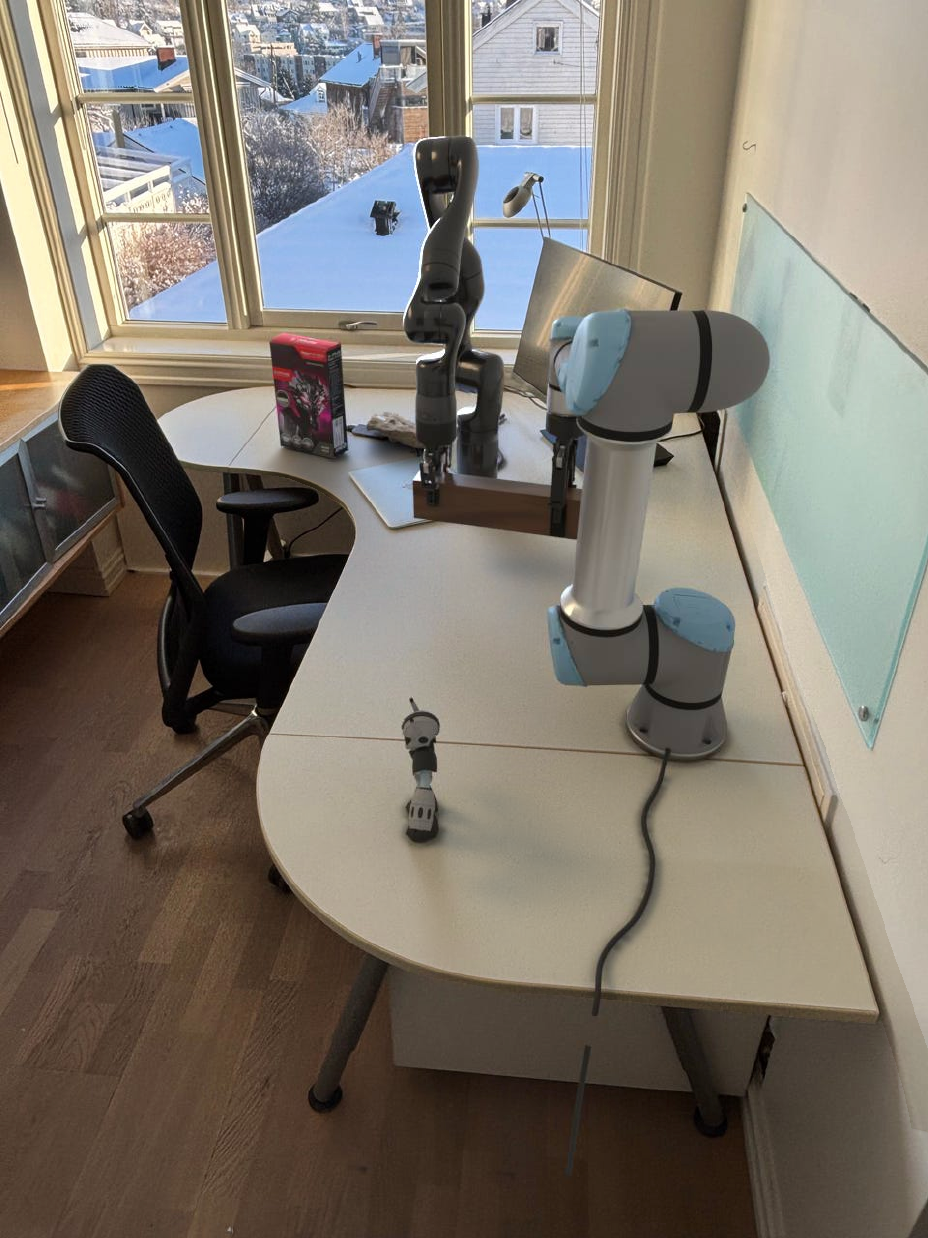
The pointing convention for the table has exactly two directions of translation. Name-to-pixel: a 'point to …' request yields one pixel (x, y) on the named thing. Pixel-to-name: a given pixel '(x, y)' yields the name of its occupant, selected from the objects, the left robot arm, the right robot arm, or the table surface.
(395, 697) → the table surface
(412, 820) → the robot
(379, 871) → the table surface
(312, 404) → the graphics card box
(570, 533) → the walnut beam
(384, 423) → the stone
